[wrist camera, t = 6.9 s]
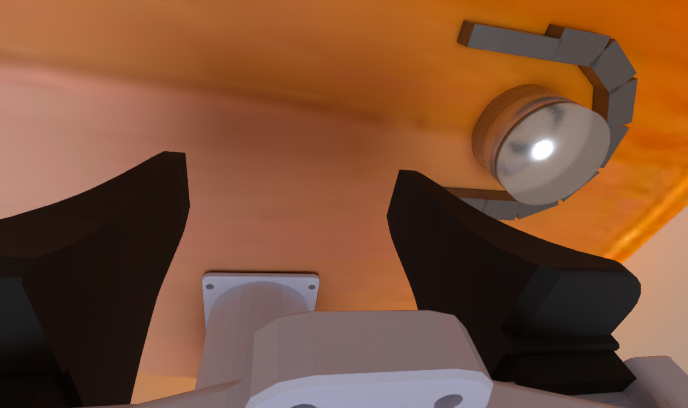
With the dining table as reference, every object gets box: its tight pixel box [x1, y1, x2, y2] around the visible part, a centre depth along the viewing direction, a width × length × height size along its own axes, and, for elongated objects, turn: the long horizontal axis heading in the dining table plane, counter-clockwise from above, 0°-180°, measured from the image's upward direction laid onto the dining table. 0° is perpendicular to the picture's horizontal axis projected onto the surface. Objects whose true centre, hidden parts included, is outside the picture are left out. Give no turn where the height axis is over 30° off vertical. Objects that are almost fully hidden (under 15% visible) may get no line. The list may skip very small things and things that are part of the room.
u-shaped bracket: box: [443, 20, 637, 220], centre depth 21 cm, size 12×12×1 cm
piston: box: [472, 84, 610, 205], centre depth 20 cm, size 6×6×4 cm
